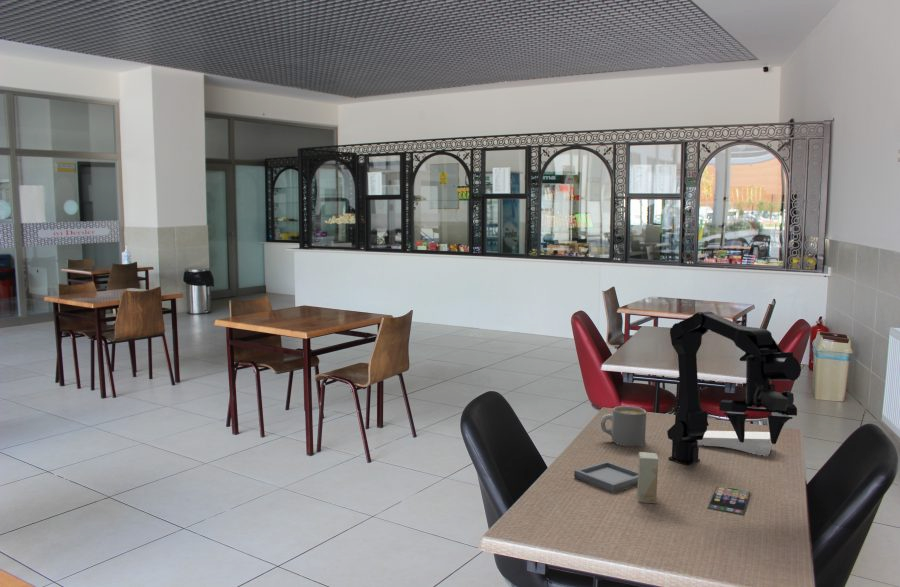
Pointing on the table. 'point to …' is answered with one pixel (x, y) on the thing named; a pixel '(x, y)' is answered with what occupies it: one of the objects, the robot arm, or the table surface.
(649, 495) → the box
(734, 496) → the smartphone
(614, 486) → the tray
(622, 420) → the coffee mug
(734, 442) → the wall bracket
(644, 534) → the table surface
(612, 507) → the table surface
